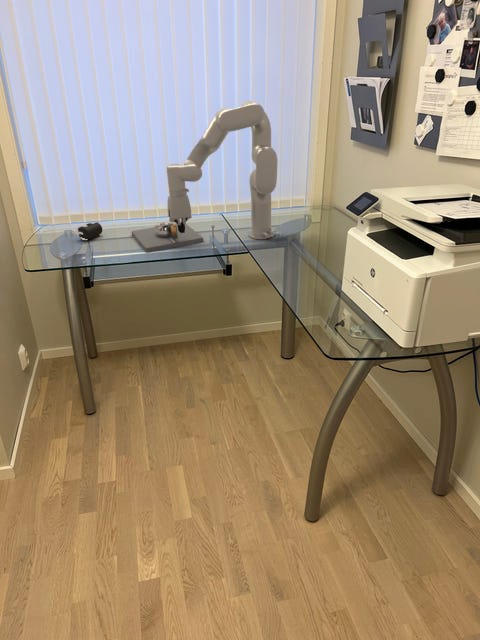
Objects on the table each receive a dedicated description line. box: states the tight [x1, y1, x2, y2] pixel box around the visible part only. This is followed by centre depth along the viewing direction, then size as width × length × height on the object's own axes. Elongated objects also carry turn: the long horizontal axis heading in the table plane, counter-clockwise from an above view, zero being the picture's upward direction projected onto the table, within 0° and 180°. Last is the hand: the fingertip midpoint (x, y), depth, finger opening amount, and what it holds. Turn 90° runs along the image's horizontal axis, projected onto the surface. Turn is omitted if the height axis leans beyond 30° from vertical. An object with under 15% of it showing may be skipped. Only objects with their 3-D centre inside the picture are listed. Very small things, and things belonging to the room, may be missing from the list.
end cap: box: [77, 221, 103, 240], centre depth 233 cm, size 10×7×7 cm
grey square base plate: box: [131, 223, 204, 253], centre depth 230 cm, size 28×28×2 cm
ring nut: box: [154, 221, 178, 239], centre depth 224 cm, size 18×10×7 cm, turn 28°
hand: (181, 232), depth 220 cm, fingers closed
